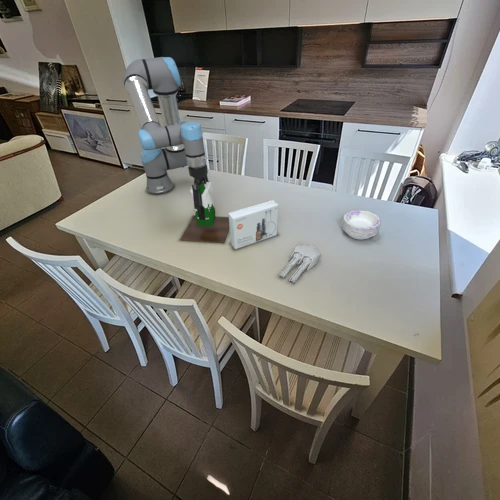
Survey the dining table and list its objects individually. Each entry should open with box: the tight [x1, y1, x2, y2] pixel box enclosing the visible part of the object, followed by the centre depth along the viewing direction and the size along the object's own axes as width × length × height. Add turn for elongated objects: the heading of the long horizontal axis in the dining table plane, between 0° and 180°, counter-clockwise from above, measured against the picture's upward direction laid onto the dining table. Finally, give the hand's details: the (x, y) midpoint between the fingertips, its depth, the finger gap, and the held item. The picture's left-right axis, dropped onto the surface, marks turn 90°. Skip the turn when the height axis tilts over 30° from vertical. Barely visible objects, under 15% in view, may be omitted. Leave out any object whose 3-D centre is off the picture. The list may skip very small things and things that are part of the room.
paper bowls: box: [341, 209, 382, 240], centre depth 120 cm, size 15×15×8 cm
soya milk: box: [189, 181, 217, 226], centre depth 122 cm, size 9×9×20 cm
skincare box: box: [227, 199, 280, 250], centre depth 118 cm, size 21×5×16 cm, turn 117°
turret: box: [278, 244, 322, 284], centre depth 107 cm, size 10×20×5 cm, turn 141°
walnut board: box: [179, 215, 230, 244], centre depth 130 cm, size 20×20×1 cm
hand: (205, 213), depth 125 cm, fingers closed on soya milk, 9 cm apart
